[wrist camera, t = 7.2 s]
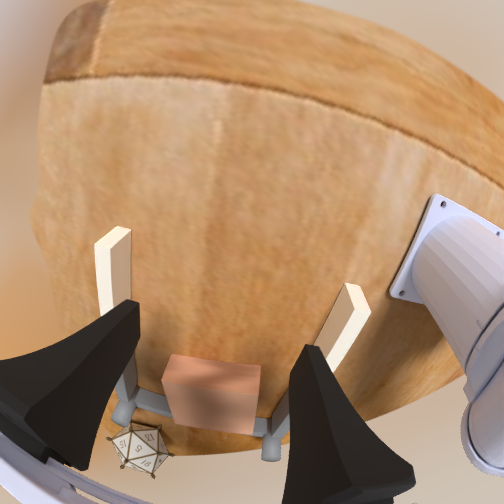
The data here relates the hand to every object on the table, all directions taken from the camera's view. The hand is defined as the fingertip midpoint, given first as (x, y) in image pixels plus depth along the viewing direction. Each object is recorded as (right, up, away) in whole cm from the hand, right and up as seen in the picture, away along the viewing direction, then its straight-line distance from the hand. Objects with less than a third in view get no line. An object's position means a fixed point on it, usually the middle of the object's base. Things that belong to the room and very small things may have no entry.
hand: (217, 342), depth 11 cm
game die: (-13, -21, +20) cm, 32 cm away
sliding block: (-2, -9, +14) cm, 16 cm away
